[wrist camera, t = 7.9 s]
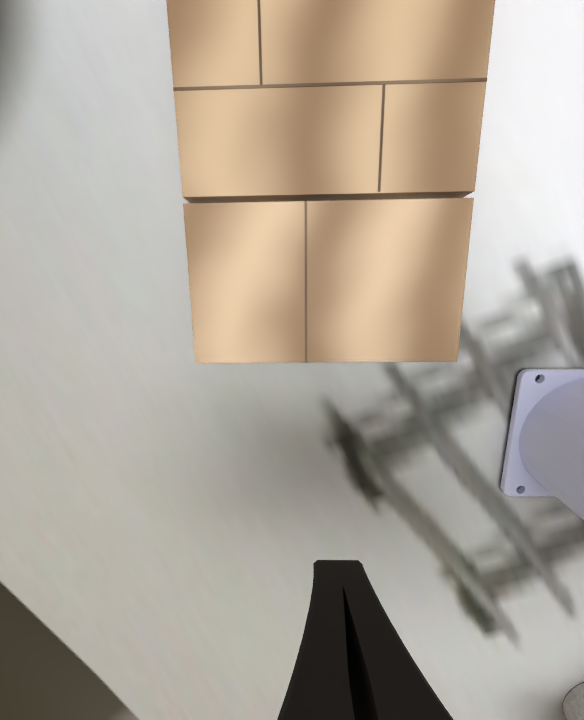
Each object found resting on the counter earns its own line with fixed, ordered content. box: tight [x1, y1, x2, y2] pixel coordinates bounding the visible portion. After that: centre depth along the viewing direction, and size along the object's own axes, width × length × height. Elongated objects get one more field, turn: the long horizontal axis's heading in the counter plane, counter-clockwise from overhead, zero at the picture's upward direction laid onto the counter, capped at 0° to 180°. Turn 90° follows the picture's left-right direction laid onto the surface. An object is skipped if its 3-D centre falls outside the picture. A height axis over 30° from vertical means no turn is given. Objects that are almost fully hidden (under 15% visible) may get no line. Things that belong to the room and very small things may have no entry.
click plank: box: [183, 198, 474, 363], centre depth 17 cm, size 14×8×1 cm, turn 91°
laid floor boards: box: [166, 0, 495, 203], centre depth 15 cm, size 14×9×1 cm, turn 91°
